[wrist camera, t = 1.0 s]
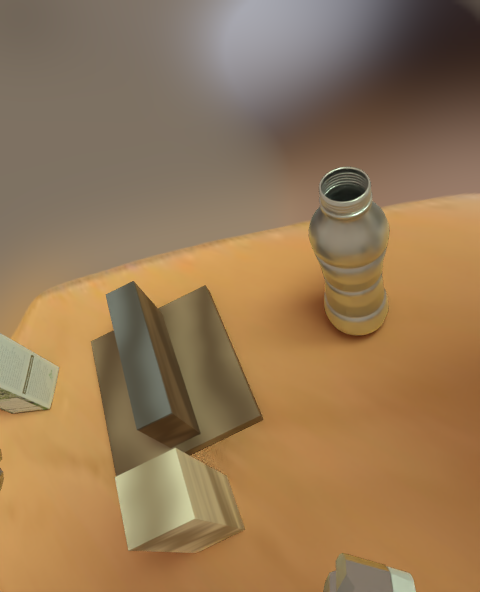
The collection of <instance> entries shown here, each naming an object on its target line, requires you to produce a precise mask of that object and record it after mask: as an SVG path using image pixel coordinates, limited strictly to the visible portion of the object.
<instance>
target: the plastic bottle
mask: <svg viewBox="0 0 480 592" xmlns="http://www.w3.org/2000/svg"><path fill="white" fill-rule="evenodd" d="M319 194H320V197H319V203H320V207H319V208H318V209H317V210H316V212H315V213H314V215H313V217H312V219H311V222H310V227H309V240H310V243H311V246H312V249H313V251H314V253H315V255H316V257H317V259H318V261H319V263H320V265H321V269H322V272H323V275H324V279H325V294H324V309H325V312H326V314H327V317H328V318H329V320H330V321H331V323H332V324H333V325H334V326H335V327H336V328H337V329H338V330H340V331H342V332H343V333H346V334H349V335H359V336H361V335H366V334H369V333H372V332H374V331H375V330H377V329H378V328H379V327H380V326H381V325H382V324H383V322H384V320H385V318H386V315H387V313H388V309H389V301H388V297H387V293H386V290H385V288H384V284H383V278H382V269H383V260H384V256H385V252H386V248H387V244H388V240H389V232H390V229H389V223H388V221H387V218H386V216H385V214H384V212H383V211H382V209H381V208H380V207H379V206H378V205H377V204H376V203H374V202H373V201H372V192H371V182H370V179H369V176H368V175H367V174H366V173H365V172H364V171H362V170H361V169H358V168H354V167H340V168H336V169H334V170H331V171H330V172H328V173H327V174H326V175H324V177H323V178H322V179H321V181H320V184H319Z"/></svg>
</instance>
